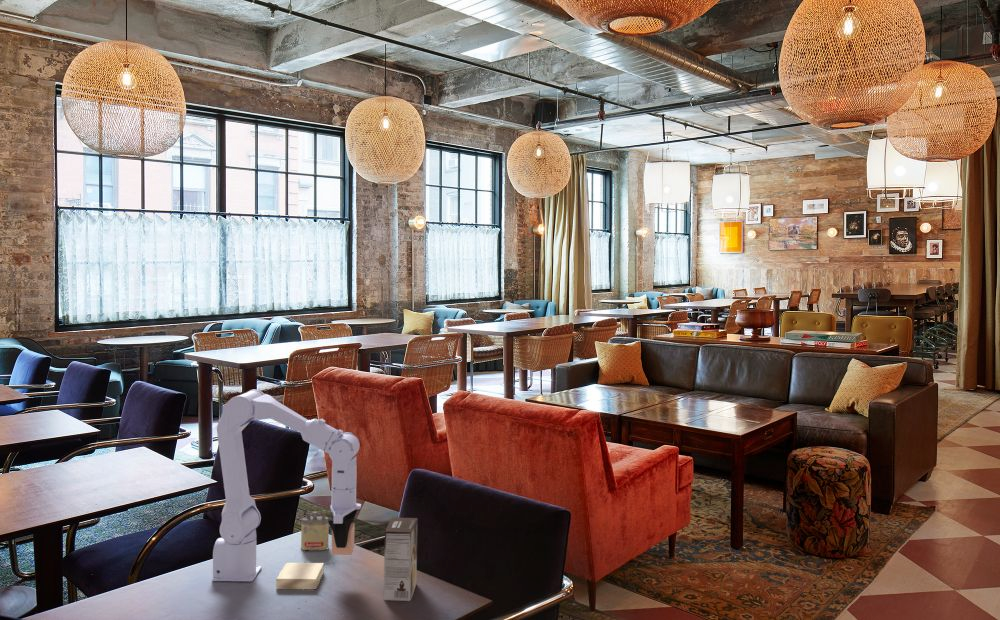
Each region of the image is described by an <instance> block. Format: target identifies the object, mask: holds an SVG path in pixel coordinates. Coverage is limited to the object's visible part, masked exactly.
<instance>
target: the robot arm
mask: <svg viewBox="0 0 1000 620" xmlns="http://www.w3.org/2000/svg"><path fill="white" fill-rule="evenodd" d="M269 419H271V420H273V421H275V422H277V423H279V424H281V425H283V426H286V427H287V428H289V429H292V430H294V431H297V432H298V433H300V435H301V438H302V440H303V441H304V442H306V443H307V444H309V445H311V446H313V447H315V448H317V449H319V450H321V451H323V452H325V453H327V454H328V456H329V458H330V460H331V464H332V465H331V495H330V496H331V497H330V498H331V501H330V502H331V504H330V505H329V508H330V511H331V513H332V516H328V523H329V528H331V532H332V531H333V534H334V539H335V544H336V547H337V548H345V547H346V544H347V540H348V533H349V529H350V526H351V523H354V520H355V517H356V515H357V513H358V511H359V510H360V509H361V508H362V504H361V503H357V482H358V481H357V476H358V475H357V474H358V471H357V469H358V468H357V455H356V454H358V453H359V450H360V447H361V444H360V440H359V438H358V437H357V436H356V435H355V434H354V433H352V432H351V431H349V432H348V431H347V432H344V431H343V430H342V429H336V428H335V427H332V426H331V425H329V424H327V423H326V420H325V419H324V418H320V419H318V418H313V419H307V418H306V417H304V416H302V415H300V414H299V413H298V412H296V411H294V410H293V409H291V408H290V407H288V406H286V405H285V404H283V403H281V402H280V401H278V400H277V399H275V398H274V397H273V396H271V395H270V394H267V393H264V392H263V391H262V390H259V389H250V390H248V391H246V392H244V393H242V394H239V395H236V396H233V397H232V398H230V399H229V400H228V401H227V402H226V403H225V404H224V405H223V406H222V413H221V416H220V418H219V421H218V423H217V426H216V433H217V441H218V450H219V457H220V458H219V459H220V465H221V473H222V479H223V489H224V496H225V503H224V505H223V508H222V512H221V523H220V525H219V534H220V537H218V538H217V539H216V541H214V542H215V543H214V545H213V549H212V577H211V581H212V582H253V581H254V579H255V578H257V577H256V576H258V573H260V571H261V570H262V565H257V528H258V527H259V526H260V524H261V519H262V516H261V513H260V511H259V509H258V508H257V505H256V501H255V499H254V498H253V497H252V496H251V495H250V488H249V481H248V472H247V465H246V458H245V457H246V455H245V448H244V447H245V446H244V442H243V441H244V440H243V433H242V431H243V430H244V429H246V427H247V426H248V425H249V424H250V422H251V421H252V420H254V421H259V420H269Z"/></svg>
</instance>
